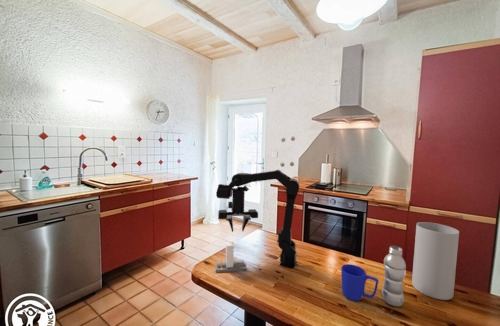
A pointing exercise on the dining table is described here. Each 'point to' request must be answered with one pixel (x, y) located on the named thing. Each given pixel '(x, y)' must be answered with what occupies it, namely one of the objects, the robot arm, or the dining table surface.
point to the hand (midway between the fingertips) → (237, 231)
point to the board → (230, 268)
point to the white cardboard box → (229, 254)
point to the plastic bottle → (394, 277)
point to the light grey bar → (235, 263)
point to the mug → (355, 282)
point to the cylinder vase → (435, 260)
